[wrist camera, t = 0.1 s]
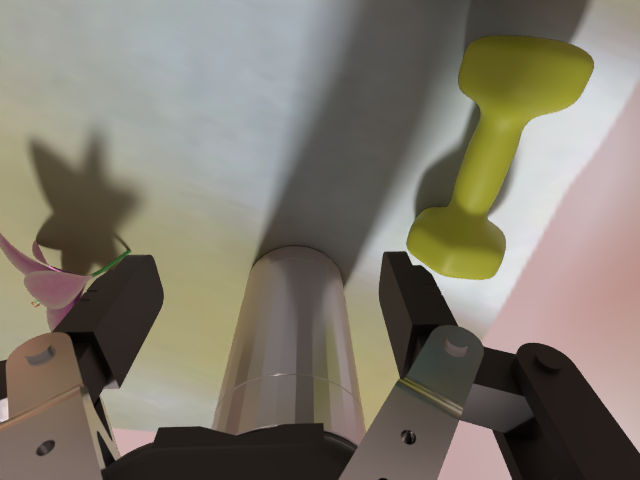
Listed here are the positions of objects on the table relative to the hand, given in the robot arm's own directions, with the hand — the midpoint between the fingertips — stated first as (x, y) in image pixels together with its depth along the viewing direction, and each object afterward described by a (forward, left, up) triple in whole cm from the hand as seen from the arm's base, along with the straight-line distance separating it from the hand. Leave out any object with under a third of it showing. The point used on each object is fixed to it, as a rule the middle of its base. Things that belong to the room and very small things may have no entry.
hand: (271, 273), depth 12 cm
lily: (-10, +19, -18) cm, 28 cm away
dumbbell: (0, -14, -18) cm, 23 cm away
